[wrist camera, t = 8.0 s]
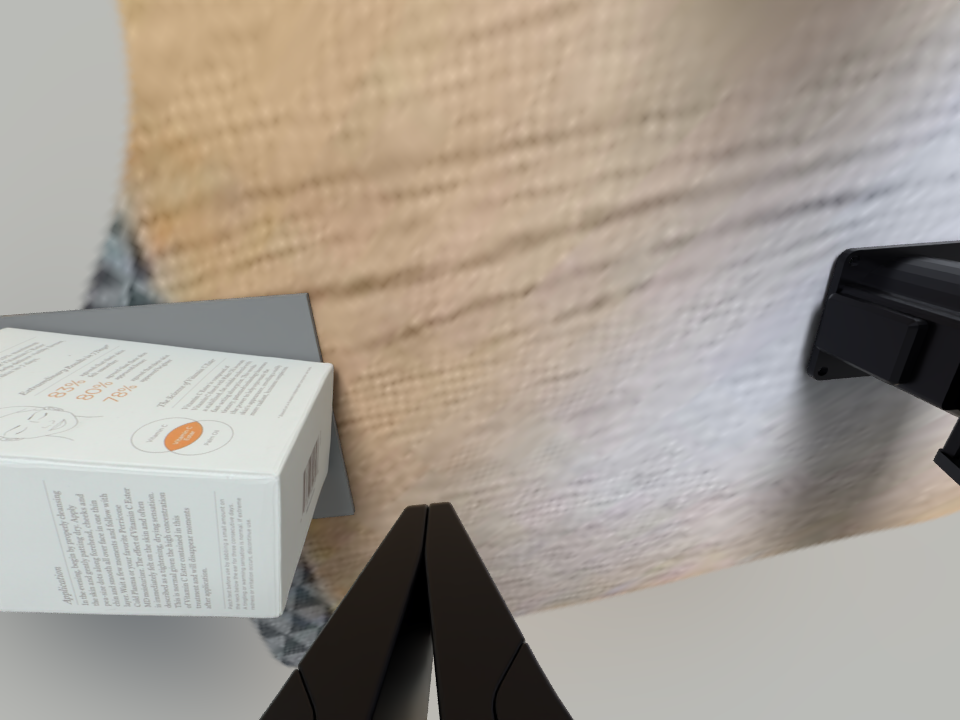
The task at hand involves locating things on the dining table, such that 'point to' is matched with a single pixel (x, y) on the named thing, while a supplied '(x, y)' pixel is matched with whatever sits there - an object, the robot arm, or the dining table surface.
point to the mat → (214, 346)
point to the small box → (155, 476)
